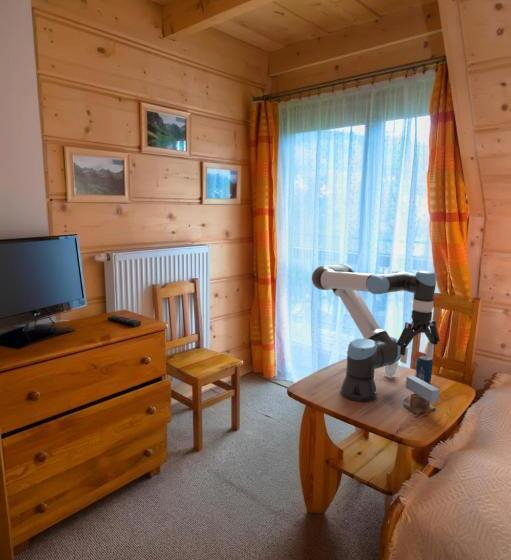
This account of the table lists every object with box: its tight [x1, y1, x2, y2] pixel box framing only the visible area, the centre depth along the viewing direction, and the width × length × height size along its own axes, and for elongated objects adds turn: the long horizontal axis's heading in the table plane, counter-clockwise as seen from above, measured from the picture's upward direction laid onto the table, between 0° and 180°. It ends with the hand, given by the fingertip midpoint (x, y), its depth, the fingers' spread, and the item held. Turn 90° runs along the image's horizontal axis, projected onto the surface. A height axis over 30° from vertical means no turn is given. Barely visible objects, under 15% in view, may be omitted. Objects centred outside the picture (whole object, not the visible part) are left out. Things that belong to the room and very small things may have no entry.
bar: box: [405, 375, 440, 404], centre depth 172 cm, size 4×14×5 cm, turn 23°
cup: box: [382, 360, 400, 379], centre depth 205 cm, size 7×10×8 cm
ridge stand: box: [403, 393, 437, 415], centre depth 173 cm, size 10×7×6 cm
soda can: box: [414, 354, 434, 384], centre depth 198 cm, size 7×7×12 cm
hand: (416, 360), depth 174 cm, fingers open, 13 cm apart
